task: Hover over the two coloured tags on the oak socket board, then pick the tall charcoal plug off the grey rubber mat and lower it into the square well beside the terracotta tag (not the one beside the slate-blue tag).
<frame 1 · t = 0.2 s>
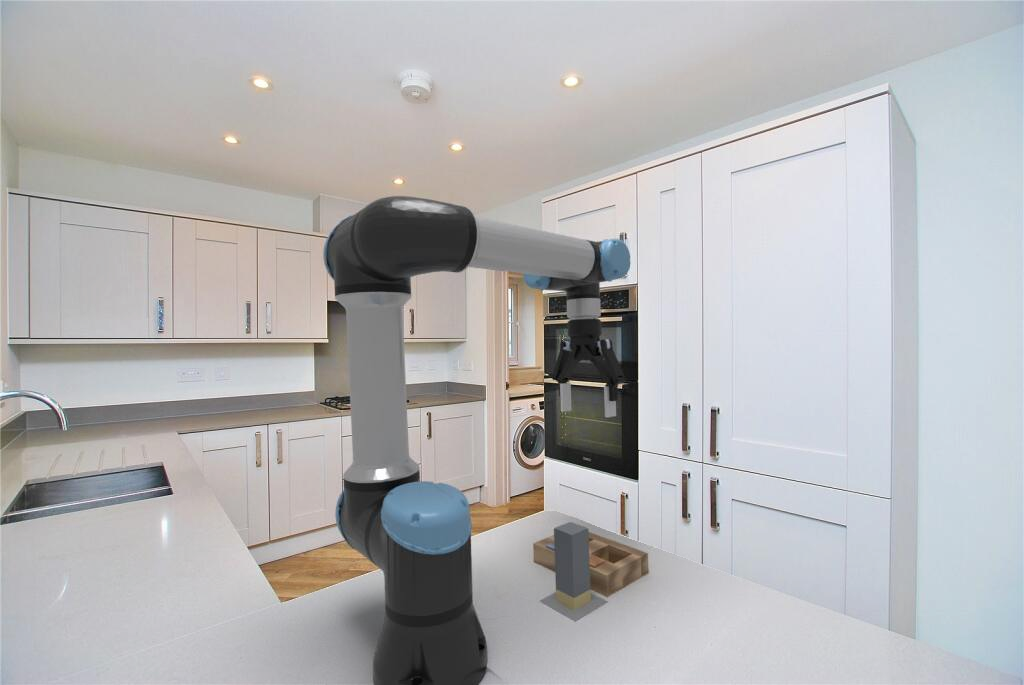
hand: (587, 413, 105), 27 cm above the table, tool pointing down, fingers open, 13 cm apart
plug: (573, 601, 77), resting on mat
mat: (573, 603, 77), on the table
socket board: (589, 569, 89), on the table
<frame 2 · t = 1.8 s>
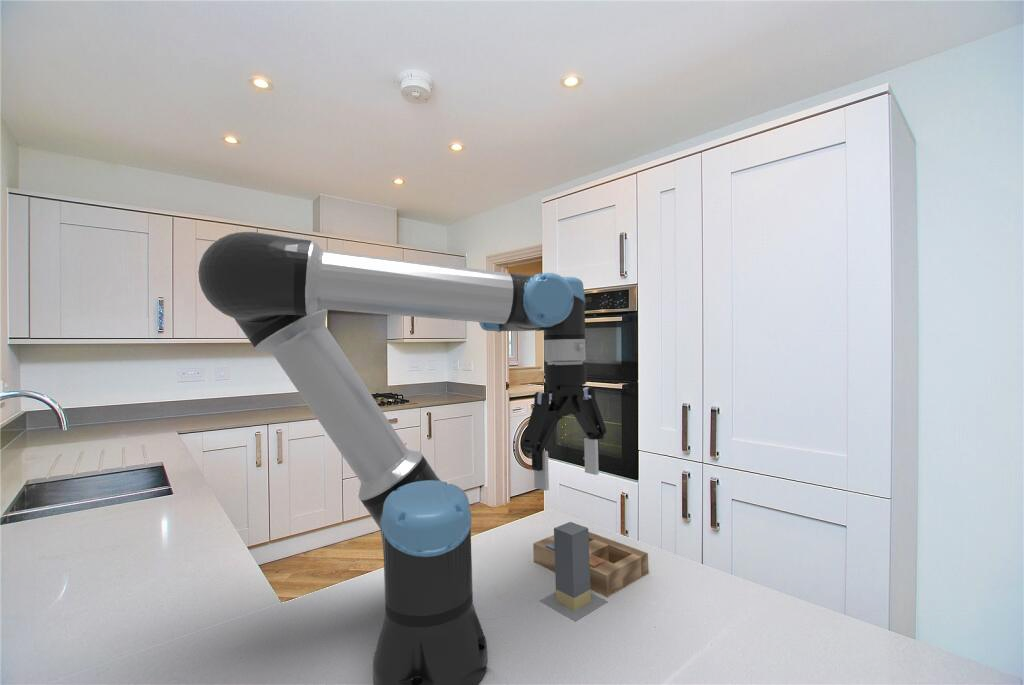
hand: (568, 480, 84), 18 cm above the table, tool pointing down, fingers open, 13 cm apart
nothing on the table moved.
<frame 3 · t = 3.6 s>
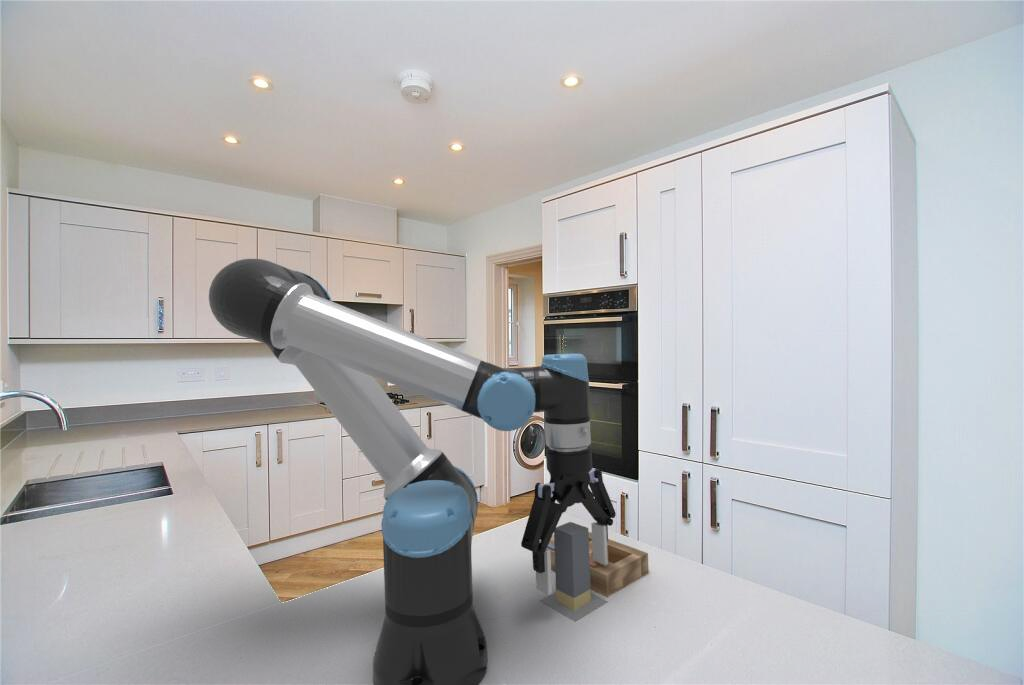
hand: (574, 576, 77), 5 cm above the table, tool pointing down, fingers open, 13 cm apart
nothing on the table moved.
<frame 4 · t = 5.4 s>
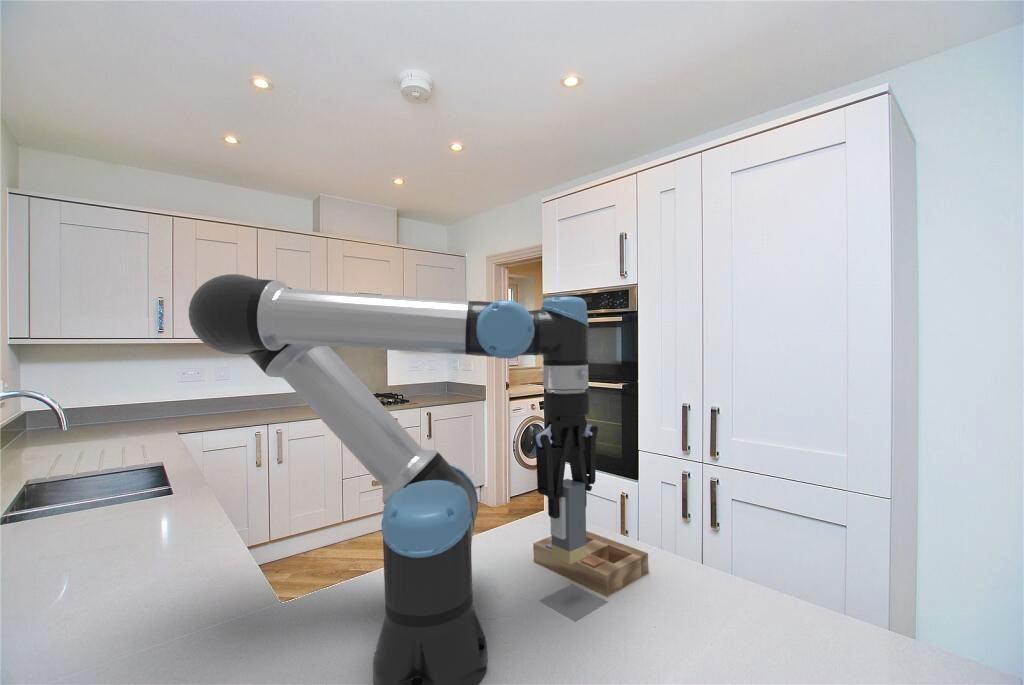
hand: (568, 532, 77), 12 cm above the table, tool pointing down, fingers closed on plug, 4 cm apart
plug: (569, 556, 77), point 8 cm above the table, touching gripper
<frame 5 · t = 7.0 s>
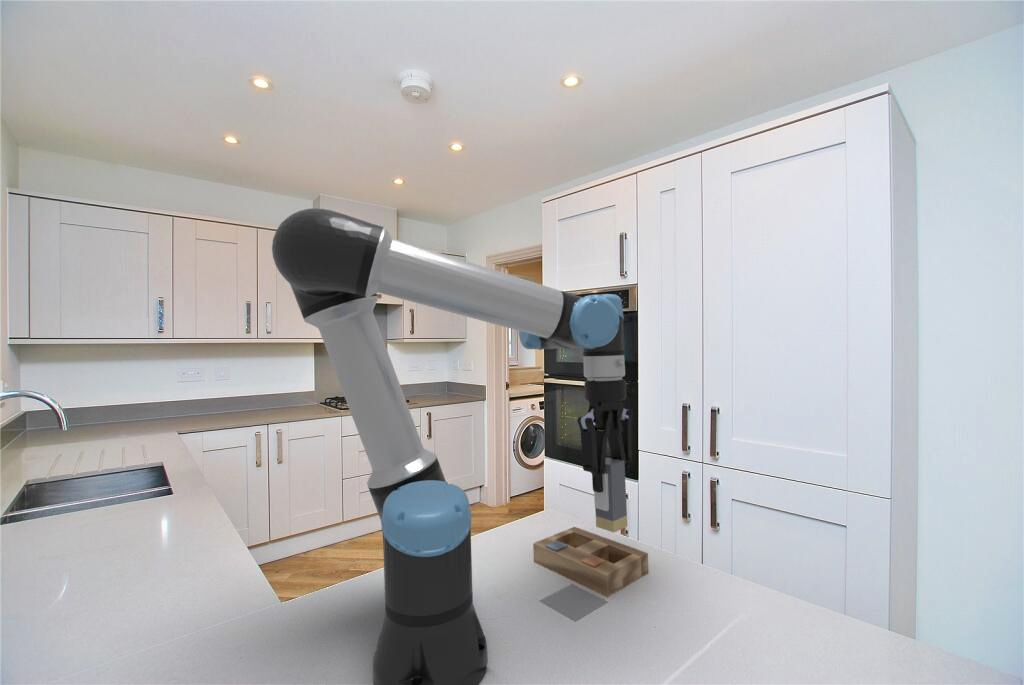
hand: (610, 505, 86), 13 cm above the table, tool pointing down, fingers closed on plug, 4 cm apart
plug: (611, 526, 86), point 9 cm above the table, touching gripper
when the fingers open (5 cm above the table, at t = 8.7 s): plug stays where it is, resting on socket board.
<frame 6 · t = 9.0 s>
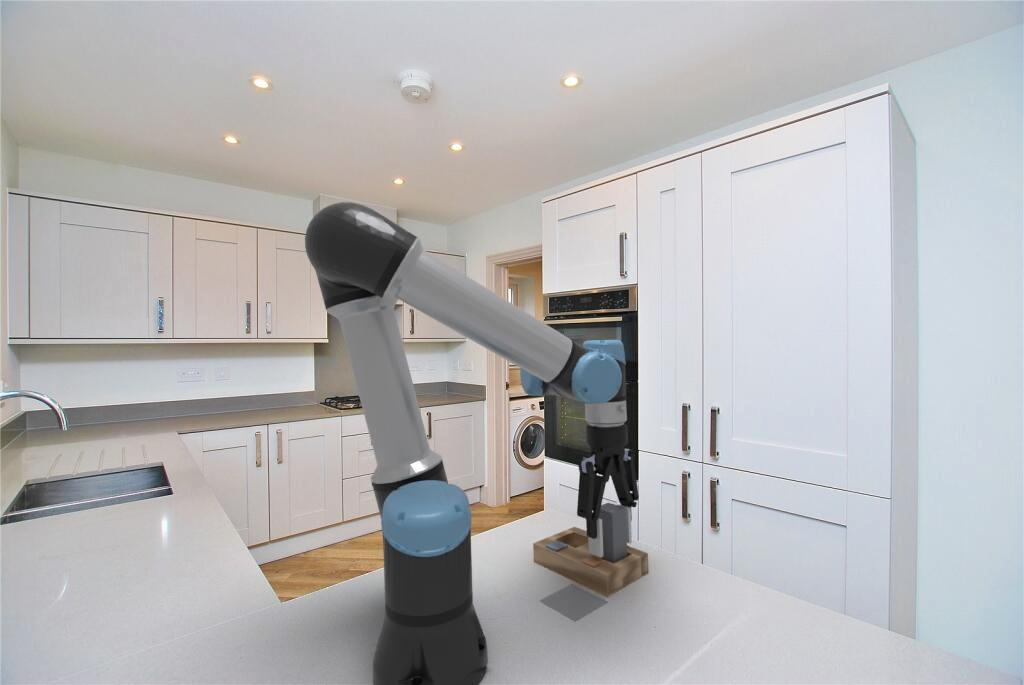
hand: (610, 547, 86), 5 cm above the table, tool pointing down, fingers open, 8 cm apart
plug: (612, 573, 86), resting on socket board
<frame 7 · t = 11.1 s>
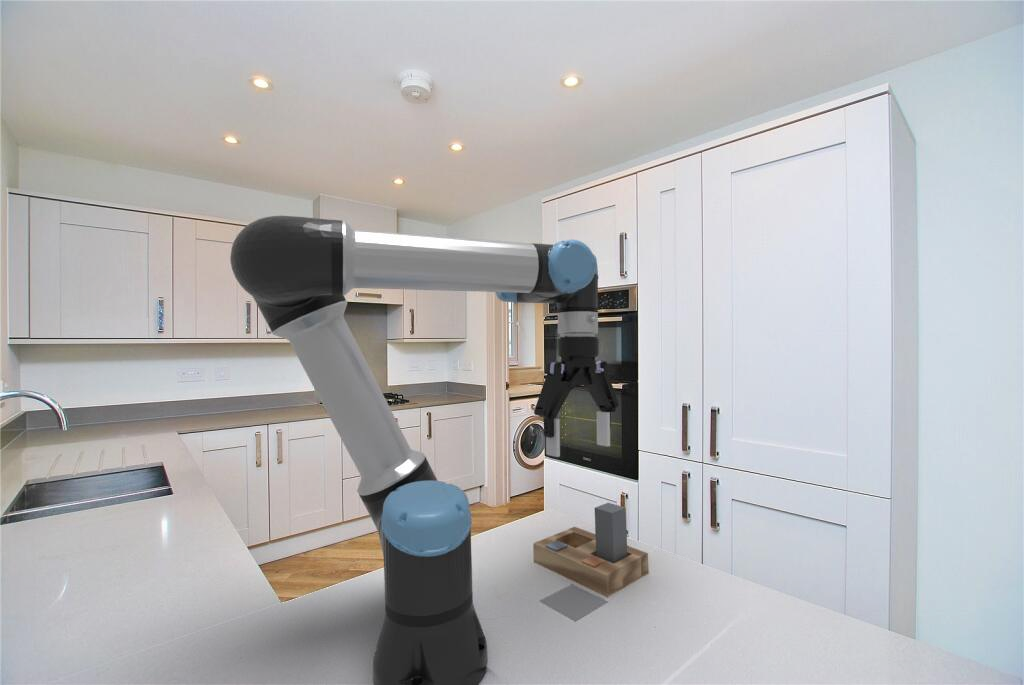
hand: (579, 450, 87), 23 cm above the table, tool pointing down, fingers open, 13 cm apart
nothing on the table moved.
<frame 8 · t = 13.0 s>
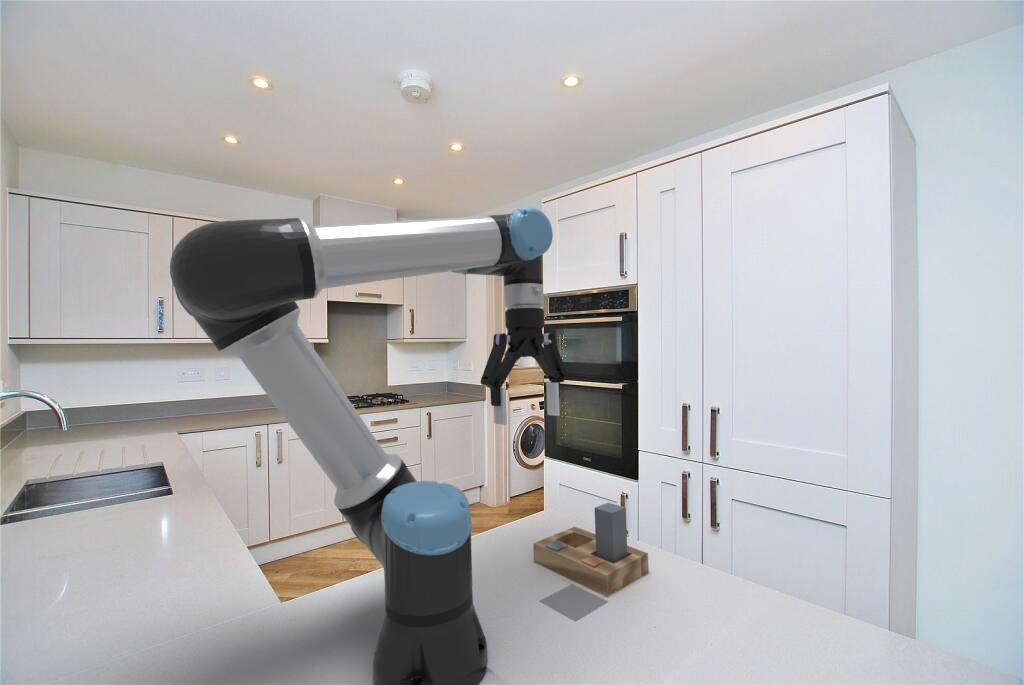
hand: (528, 419, 89), 29 cm above the table, tool pointing down, fingers open, 13 cm apart
nothing on the table moved.
at the end: plug 0.2 cm from the target spot, point 0.5 cm above the table; plug tilted 0°; the gripper is holding nothing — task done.
